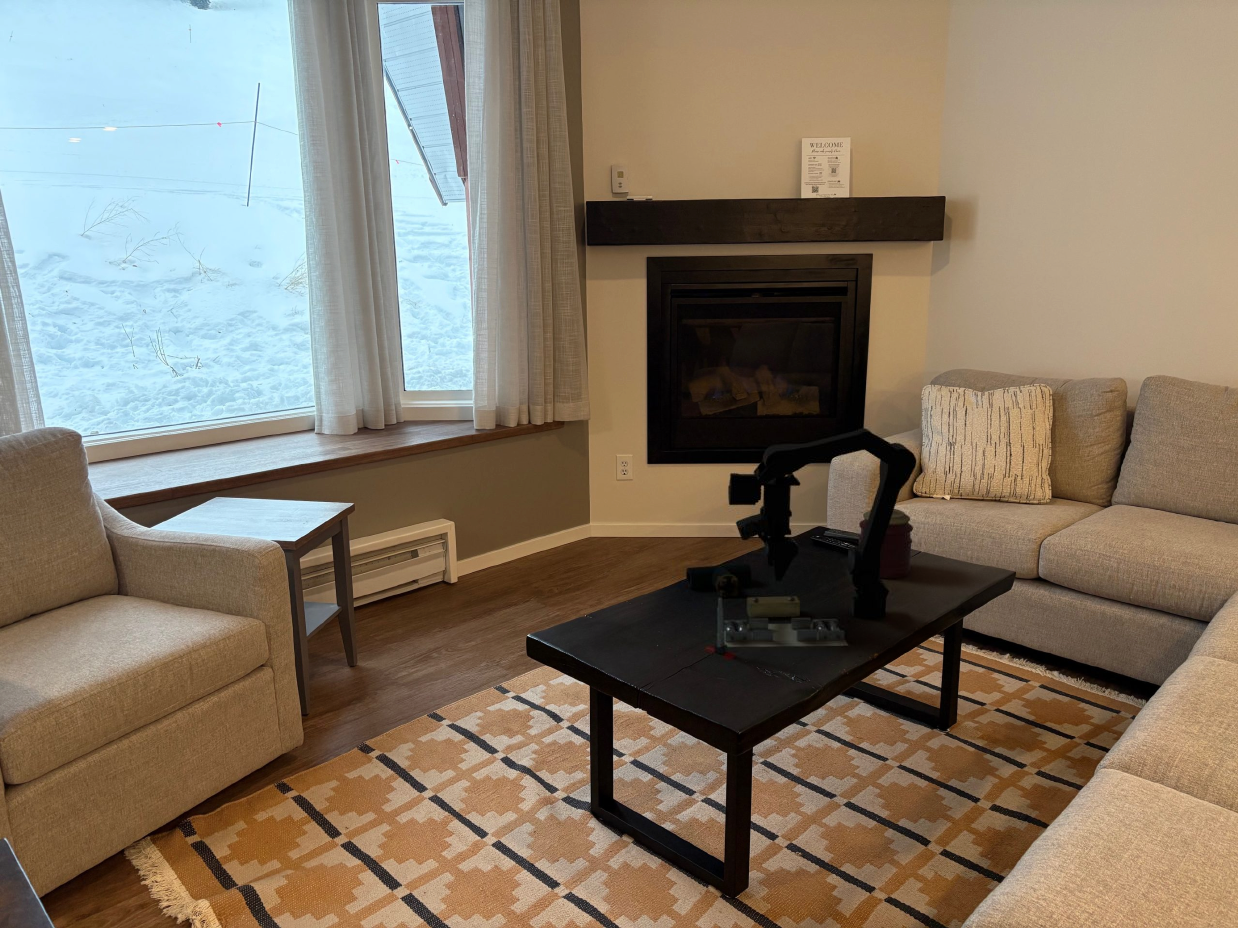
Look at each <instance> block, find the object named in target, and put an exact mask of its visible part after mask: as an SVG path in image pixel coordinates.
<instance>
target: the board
mask: <svg viewBox="0 0 1238 928" xmlns="http://www.w3.org/2000/svg"><path fill="white" fill-rule="evenodd" d="M811 629H812V623H811ZM747 630H748V631H751V642H726V641H725V633H726V632H725V630H724V645H727V648H749V647H750V648H761V647H762V648H763V647H764V648H765V647H766V648H767V647H768V648H771V647H774V648H776V647H778V648H779V647H840V646H841V647H842V646H843V647H847V646H850V645H849V644H848V643H847V640H846V639H845V638H844V641H819V640H818V632H817V641H797V640H796V638H797V630H792V629H791V623H768V630H773V642H753V630H749V623H747ZM827 630H829V629H827ZM735 632H738V631H737V630H735Z"/></svg>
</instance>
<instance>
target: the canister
mask: <svg viewBox="0 0 1238 928" xmlns="http://www.w3.org/2000/svg"><path fill="white" fill-rule="evenodd" d="M870 512H871V509H869V511H866V512H864V513H862V517H863V520H861V521H859V523H858V525H859V526H858V527H860V533H859V535H858V546H859V545H860V543H861V541H862V538H863V534H864V531H865V528H866V525H867V522H868V518H869V515H870ZM910 521H911V517H910V516H909V515H908V514H906V513H905V512H904V511H903V510H900V509H898V508H894V510H893V514H892V517H891V520H890V523H889V526H888V529H887V532H886V535H885V539H884V542H883V545H882V548H881V552H880V562H881V568H880V576H879V577H880V578H881V579H899V578H900V579H901V578H904V577H906V576H908V574H909V573H910V570H911V555H912V554H911V553H912V543H913V539H912V537H911V532H913V530H914V527H913V525H912V524H911V523H910Z"/></svg>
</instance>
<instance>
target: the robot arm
mask: <svg viewBox="0 0 1238 928" xmlns="http://www.w3.org/2000/svg"><path fill="white" fill-rule="evenodd" d="M861 451H865V452H867V453H868V454H871V455H872V456H874V457H875V458H877V459H879V460H880V461H879V469H878V470H879V483H878V487H877V490H876V493H875V497H874V499H873V503H872V506H871V508H870V510H871V512H870V515H869V518H868V522H867V525H866V528H865V531H864V534H863V538H862V541H861V543H860V545H859V544H858V546H857V547H856V548H855V549H854V548H852V547H849V549H848V554H847V558H846V560H845V561H844V563H843V564H844V566H845V572H846V574H847V576H848V577H849V580H850V581H851V583H852V585H853V586H854V587H855V589H854V592H853V596H851V601H850V614H851V616H852V617H853V618H857V619H863V620H869V621H875V620H880V619H883V618H886V608H887V597H888V595H889V593H890V591H889V589H888V588H887V586H886V584H885V583H884V581H883V580H882V578H880V577H879V576H880V568H881V562H880V552H881V548H882V545H883V542H884V539H885V535H886V532H887V529H888V526H889V523H890V520H891V517H892V514H893V510H894V509H895V506H896V503H897V501H898V497H899V493H900V491H902V488H903V487H904V486H905V485H906V484H907V483H908V481H909V480H910V479H911V478H910V477H911V475H913V472H914V470H915V468H916V467H917V466H916V465H917V458H916V456H915V453H913V452H912V451H911V450H910V449H908V447H906V446H905V445H904V444H902V443H899V442H893V443H891V442H889V441H887V440H885V439H884V438H883V437H881V436H878V435H876V434H875V433H873V432H871V430H869V429H868V428H865V427H864V428H863V427H862V428H861V427H860V428H858V429H856V430H854V431H850V432H846V433H841V434H838V435H833V436H830V437H826V438H825V437H824V438H822V439H818V440H815V441H811V442H805V443H783V444H782V443H781V444H772V445H769V447H767V448H766V450H765V451H764V452H763V456H762V461H761V462H760V463H759V464H758V465H757V467H755V469H754V470H753V473H738V472H736V473H735V472H731V473H730V474H729V483H728V486H727V487H728V490H727V492H728V494H727V497H728V499H727V500H728V504H729V506H755V505H757V503H759V501H761V500H762V501H763V502H762V505H761V507H760V508H759V513H757V514H753V515H752V514H751V515H749V516H747V517H745V518H741V519H739V520H737V521H736V522H735V524H736V525H735V526H736V527H737V530H738V534H739V535H740V538H741V540H742V541H747V540H749V539H750V538H753V537H756V536H757V537H758V538H759V539H760V540H761V541H762V542H763V543H764V549H765V555H766V560H767V564H768V566H769V567H773V571H774V576H775V581H776V582H781V581H782V580H783V578H784V577H785V574H786V572H787V571H788V569H789V568H790V566H791V563H792V562H793V560H794V558H796V557H797V556H798V555H799V545H798V543H797V542H796V540H794V539H793V538H792V537H791V536H792V529H791V528H790V523H791V522H790V518H791V517H792V516H793V511H792V509H791V489H792V487H800V486H801V482H800V480H799V479H798V478H797V477H796V476H795V475H794V473H795V472H798V471H799V470H801V469H802V468H804V467H805V466H807V465H810V464H812V463H816V462H821V461H825V460H828V459H829V460H830V459H832V458H837V457H841V456H844V455H849V454H852V453H857V452H861ZM762 487H763V494H762ZM762 495H763V497H762ZM762 498H763V499H762Z"/></svg>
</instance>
